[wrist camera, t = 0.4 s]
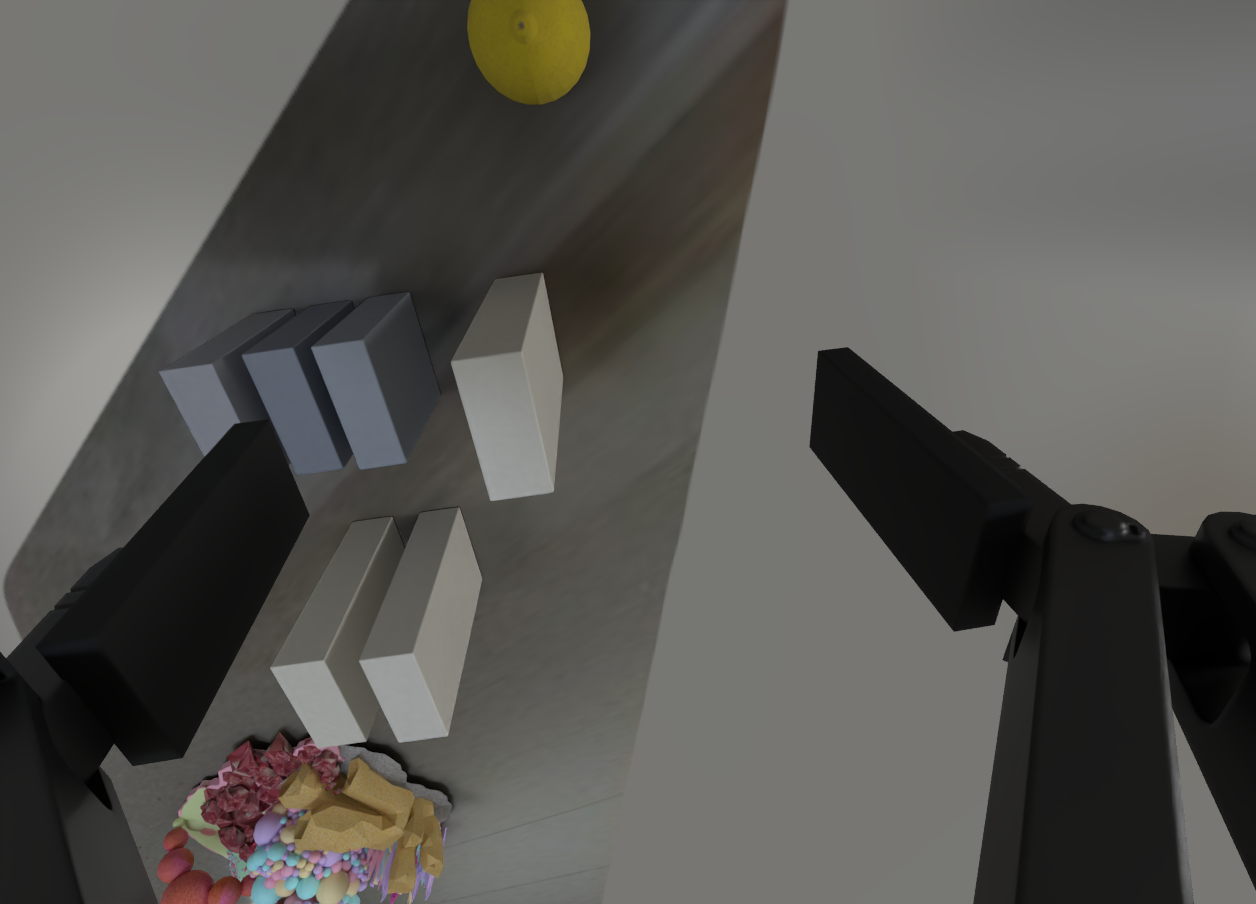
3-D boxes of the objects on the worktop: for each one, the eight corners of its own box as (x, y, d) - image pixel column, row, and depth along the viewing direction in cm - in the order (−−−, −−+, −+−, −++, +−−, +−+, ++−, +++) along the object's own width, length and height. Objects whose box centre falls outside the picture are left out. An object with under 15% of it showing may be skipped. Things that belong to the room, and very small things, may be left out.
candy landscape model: (269, 694, 53) (213, 798, 45) (496, 790, 62) (482, 892, 54) (156, 831, 62) (91, 939, 54) (369, 899, 70) (341, 1001, 62)
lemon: (518, -52, 30) (497, -101, 23) (610, 30, 32) (618, 9, 25) (461, 56, 32) (426, 42, 25) (551, 128, 34) (543, 133, 27)
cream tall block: (543, 271, 37) (522, 350, 25) (563, 378, 41) (553, 493, 29) (494, 278, 37) (449, 361, 25) (518, 384, 41) (490, 502, 29)
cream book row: (459, 506, 45) (413, 653, 33) (482, 579, 49) (448, 736, 36) (352, 521, 45) (266, 673, 33) (382, 593, 49) (315, 755, 36)
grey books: (409, 291, 37) (360, 342, 29) (441, 395, 41) (405, 467, 33) (251, 314, 38) (157, 371, 29) (296, 416, 41) (223, 493, 33)
